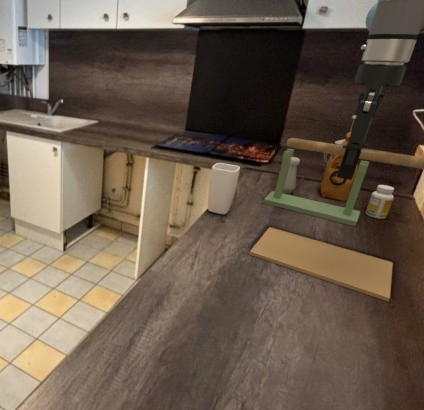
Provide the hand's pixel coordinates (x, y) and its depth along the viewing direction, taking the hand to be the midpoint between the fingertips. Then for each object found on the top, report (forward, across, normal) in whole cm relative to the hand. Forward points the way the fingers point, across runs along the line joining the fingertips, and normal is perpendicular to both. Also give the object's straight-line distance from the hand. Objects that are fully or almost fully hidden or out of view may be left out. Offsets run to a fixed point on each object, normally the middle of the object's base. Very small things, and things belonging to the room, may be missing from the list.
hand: (345, 176), depth 80 cm
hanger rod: (-6, 0, 0) cm, 6 cm away
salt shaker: (+22, -46, -18) cm, 54 cm away
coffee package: (+22, -55, -4) cm, 59 cm away
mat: (+22, 0, 0) cm, 22 cm away
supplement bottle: (+22, -43, +9) cm, 49 cm away
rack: (+22, -34, -8) cm, 41 cm away
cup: (+22, -12, -30) cm, 39 cm away
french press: (+22, -81, -7) cm, 84 cm away
